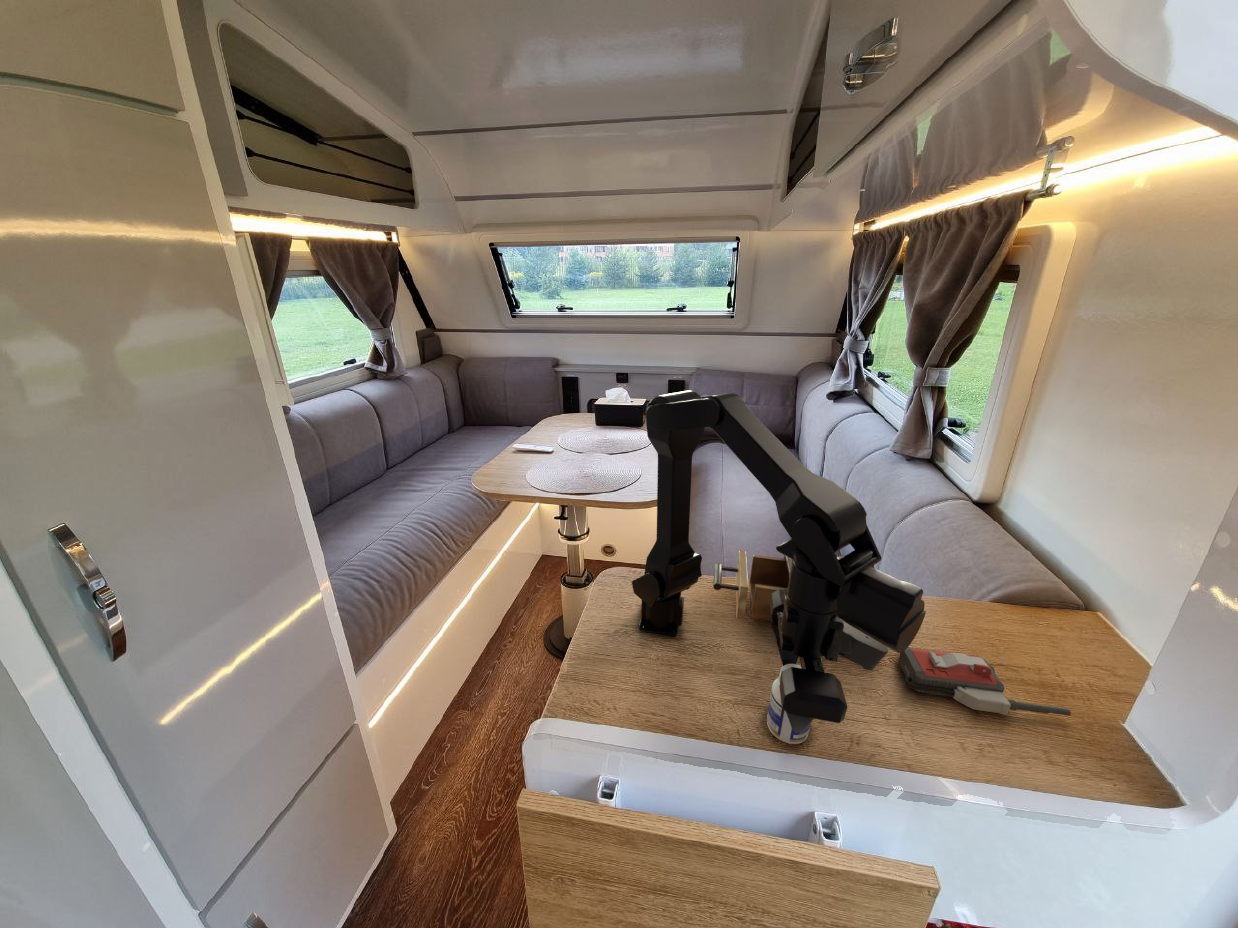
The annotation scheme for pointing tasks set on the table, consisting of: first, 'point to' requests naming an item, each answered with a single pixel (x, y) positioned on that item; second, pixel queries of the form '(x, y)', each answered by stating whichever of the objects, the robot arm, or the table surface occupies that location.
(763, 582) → the drawer
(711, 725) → the table surface
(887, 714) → the table surface
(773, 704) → the pill bottle
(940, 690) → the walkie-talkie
